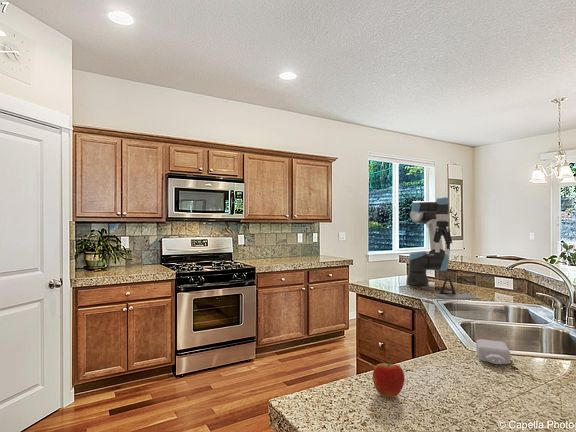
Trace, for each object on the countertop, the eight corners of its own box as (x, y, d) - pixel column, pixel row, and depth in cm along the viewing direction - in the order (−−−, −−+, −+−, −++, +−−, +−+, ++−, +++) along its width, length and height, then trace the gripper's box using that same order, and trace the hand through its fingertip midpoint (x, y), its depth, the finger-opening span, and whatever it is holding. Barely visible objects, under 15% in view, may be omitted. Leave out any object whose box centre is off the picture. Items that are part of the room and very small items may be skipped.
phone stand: (440, 292, 232) (440, 273, 233) (440, 292, 238) (440, 273, 239) (455, 294, 228) (455, 274, 229) (455, 293, 234) (456, 274, 235)
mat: (433, 294, 228) (433, 294, 228) (468, 294, 230) (468, 294, 230) (443, 299, 216) (443, 298, 216) (479, 299, 218) (479, 298, 218)
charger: (480, 367, 117) (476, 351, 131) (513, 372, 114) (506, 355, 128) (480, 352, 117) (476, 338, 131) (513, 357, 114) (506, 342, 128)
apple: (370, 400, 95) (370, 361, 95) (374, 386, 103) (375, 350, 103) (403, 405, 92) (403, 366, 92) (405, 391, 100) (405, 354, 100)
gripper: (428, 220, 254) (428, 251, 254) (446, 220, 229) (446, 254, 229) (438, 220, 255) (438, 251, 255) (458, 220, 230) (457, 254, 230)
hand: (442, 253), depth 242 cm, fingers open, 13 cm apart
